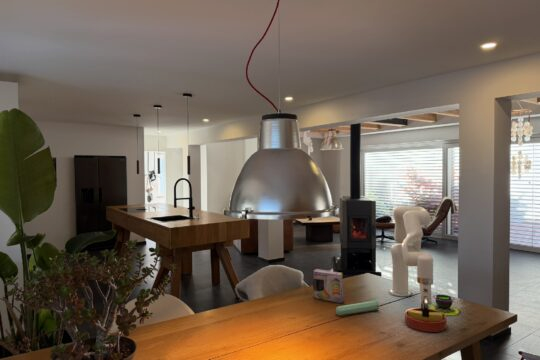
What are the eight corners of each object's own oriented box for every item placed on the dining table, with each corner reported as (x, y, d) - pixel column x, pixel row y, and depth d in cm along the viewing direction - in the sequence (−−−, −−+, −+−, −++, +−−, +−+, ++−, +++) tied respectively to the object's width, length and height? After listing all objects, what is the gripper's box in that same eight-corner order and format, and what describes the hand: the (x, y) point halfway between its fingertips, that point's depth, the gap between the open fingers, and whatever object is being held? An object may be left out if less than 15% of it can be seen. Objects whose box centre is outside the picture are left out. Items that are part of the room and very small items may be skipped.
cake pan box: (312, 297, 233) (312, 269, 233) (316, 295, 237) (316, 268, 237) (340, 304, 221) (340, 274, 221) (344, 301, 225) (343, 272, 225)
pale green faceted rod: (337, 305, 202) (377, 299, 210) (333, 306, 207) (372, 300, 215) (340, 317, 200) (380, 310, 208) (335, 317, 205) (374, 310, 213)
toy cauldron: (464, 312, 206) (464, 292, 206) (446, 317, 200) (446, 296, 199) (441, 303, 220) (441, 285, 219) (423, 308, 213) (423, 289, 213)
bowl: (404, 315, 203) (404, 306, 203) (444, 319, 197) (444, 310, 196) (405, 330, 185) (405, 320, 184) (448, 335, 178) (448, 324, 178)
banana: (408, 315, 196) (408, 309, 196) (442, 318, 191) (442, 312, 191) (408, 318, 191) (408, 312, 191) (443, 322, 186) (443, 316, 186)
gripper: (434, 286, 181) (434, 320, 182) (431, 275, 197) (431, 307, 198) (417, 284, 183) (417, 318, 184) (416, 274, 200) (416, 306, 200)
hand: (424, 313), depth 191 cm, fingers open, 9 cm apart
